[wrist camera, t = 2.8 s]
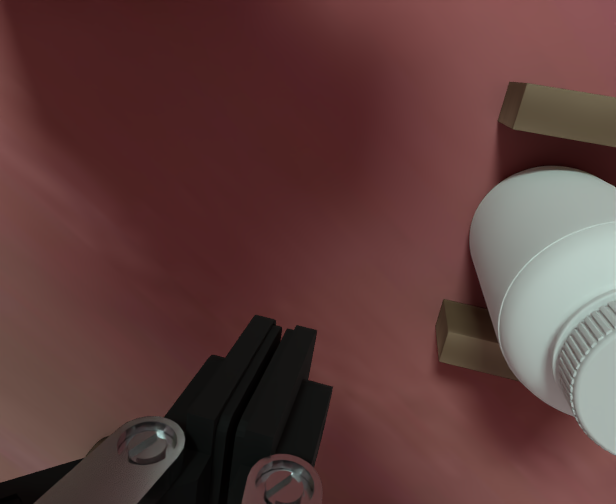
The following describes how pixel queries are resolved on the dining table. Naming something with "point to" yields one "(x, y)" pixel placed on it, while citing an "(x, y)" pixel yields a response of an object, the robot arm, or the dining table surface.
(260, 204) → the dining table surface
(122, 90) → the dining table surface
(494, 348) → the u rest
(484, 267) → the pill bottle
